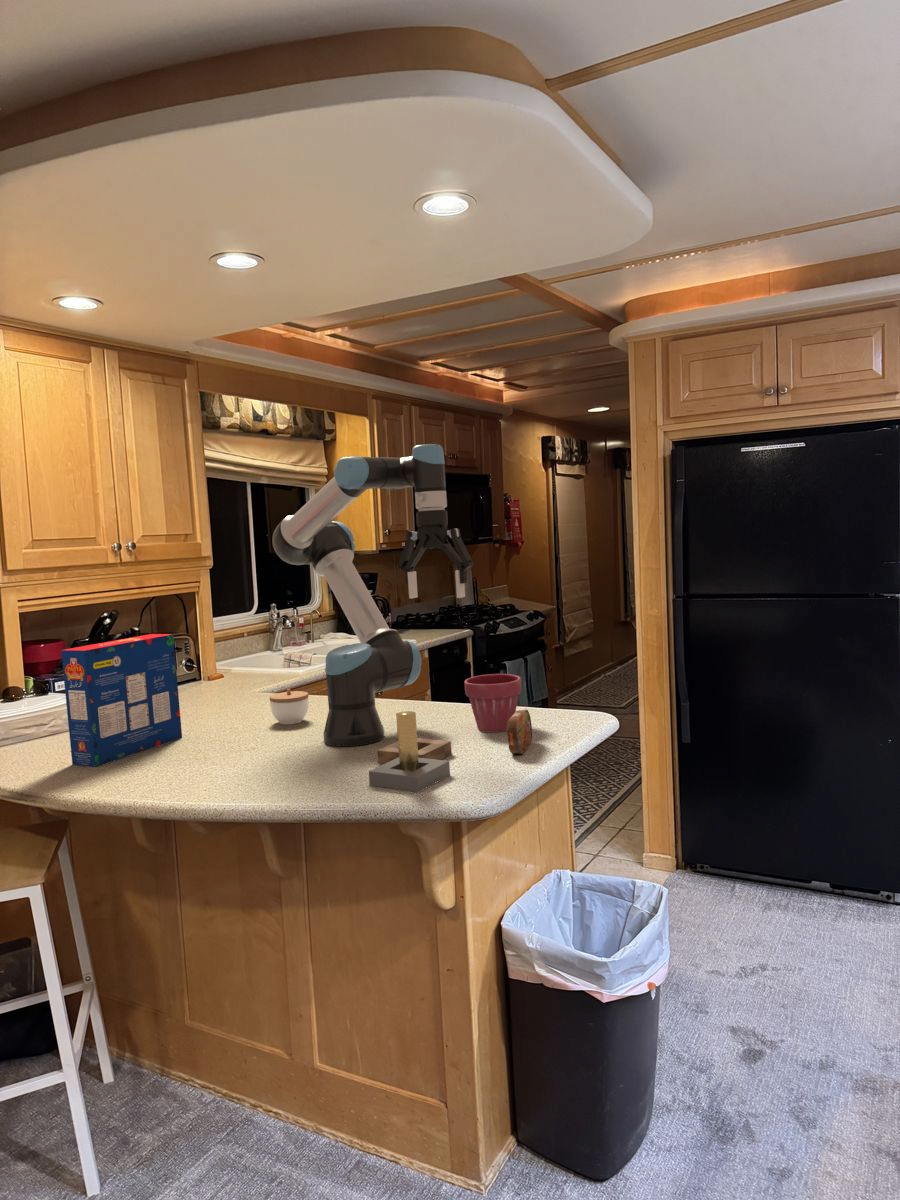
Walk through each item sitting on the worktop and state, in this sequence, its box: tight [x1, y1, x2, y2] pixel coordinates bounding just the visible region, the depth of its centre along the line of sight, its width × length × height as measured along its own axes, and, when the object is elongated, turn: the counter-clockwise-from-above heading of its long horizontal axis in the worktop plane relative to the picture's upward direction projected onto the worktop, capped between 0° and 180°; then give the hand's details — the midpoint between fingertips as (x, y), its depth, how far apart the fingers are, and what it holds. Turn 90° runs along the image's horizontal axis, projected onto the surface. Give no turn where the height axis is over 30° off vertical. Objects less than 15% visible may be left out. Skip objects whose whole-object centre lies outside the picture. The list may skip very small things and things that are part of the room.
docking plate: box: [368, 757, 451, 793], centre depth 170 cm, size 12×12×3 cm
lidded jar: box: [269, 688, 310, 726], centre depth 232 cm, size 11×11×9 cm
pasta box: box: [60, 633, 183, 768], centre depth 209 cm, size 28×8×28 cm, turn 154°
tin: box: [506, 709, 533, 755], centre depth 189 cm, size 15×3×8 cm, turn 163°
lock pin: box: [395, 710, 419, 771], centre depth 170 cm, size 4×4×14 cm
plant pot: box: [464, 673, 522, 733], centre depth 210 cm, size 14×14×13 cm
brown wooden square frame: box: [376, 737, 453, 765], centre depth 187 cm, size 12×12×3 cm
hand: (436, 597), depth 201 cm, fingers open, 13 cm apart
